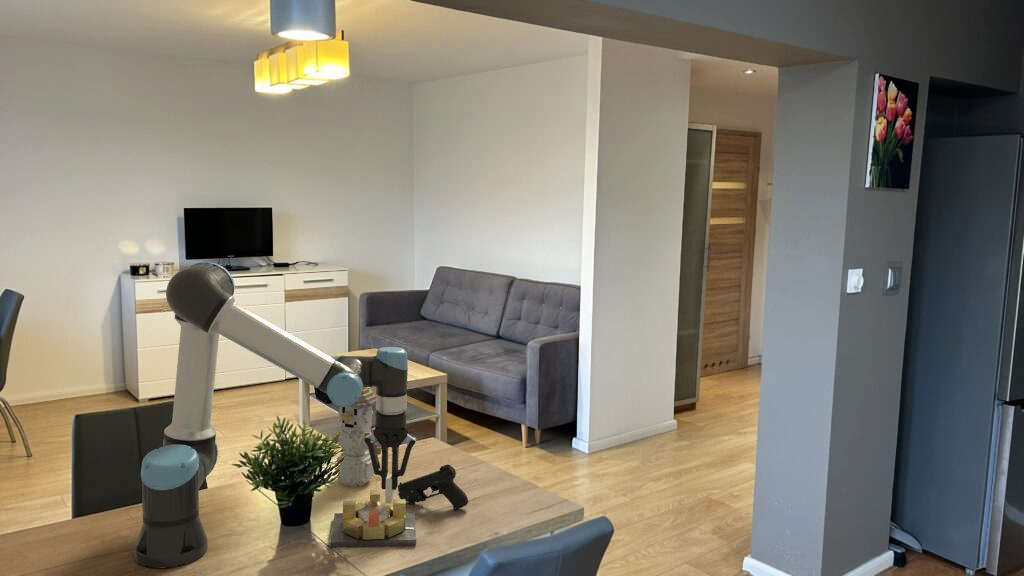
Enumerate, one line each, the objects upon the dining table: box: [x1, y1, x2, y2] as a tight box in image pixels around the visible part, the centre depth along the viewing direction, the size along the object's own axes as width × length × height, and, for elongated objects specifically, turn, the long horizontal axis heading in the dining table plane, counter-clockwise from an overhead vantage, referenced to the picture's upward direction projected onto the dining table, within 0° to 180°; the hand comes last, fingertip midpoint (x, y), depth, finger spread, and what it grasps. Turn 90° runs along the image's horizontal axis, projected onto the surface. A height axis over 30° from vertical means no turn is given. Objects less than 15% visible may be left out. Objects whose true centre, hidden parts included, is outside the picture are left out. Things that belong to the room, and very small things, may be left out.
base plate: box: [329, 505, 417, 549], centre depth 192 cm, size 20×16×5 cm
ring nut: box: [342, 489, 407, 540], centre depth 192 cm, size 15×15×6 cm
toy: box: [330, 387, 382, 488], centre depth 221 cm, size 16×12×30 cm
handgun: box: [397, 464, 469, 511], centre depth 208 cm, size 2×17×12 cm, turn 79°
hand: (389, 501), depth 197 cm, fingers closed
